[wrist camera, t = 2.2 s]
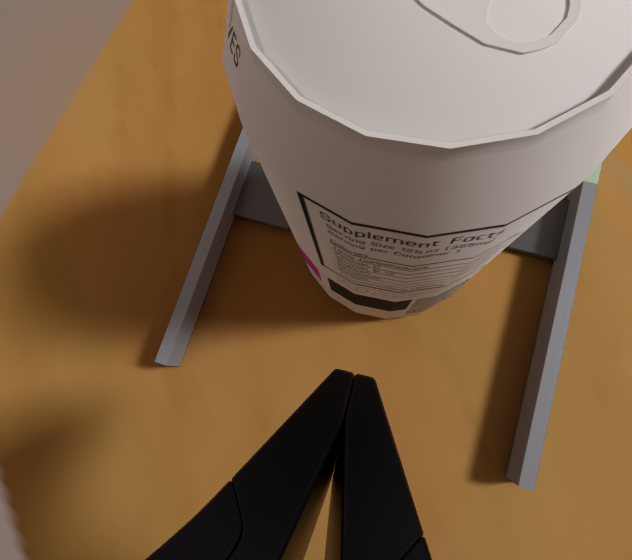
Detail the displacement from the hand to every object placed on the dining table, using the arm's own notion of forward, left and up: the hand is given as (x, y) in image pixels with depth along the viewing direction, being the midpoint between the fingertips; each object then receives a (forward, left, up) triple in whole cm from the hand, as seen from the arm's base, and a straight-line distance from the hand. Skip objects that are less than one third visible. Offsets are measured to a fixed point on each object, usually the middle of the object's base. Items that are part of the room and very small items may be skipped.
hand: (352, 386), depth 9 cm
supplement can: (+7, 0, -12) cm, 14 cm away
